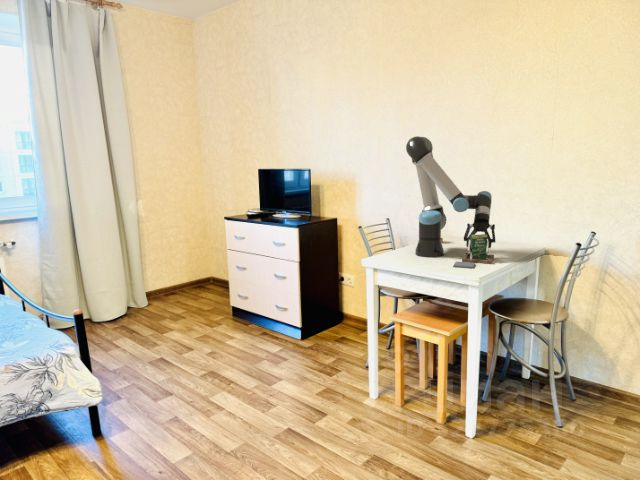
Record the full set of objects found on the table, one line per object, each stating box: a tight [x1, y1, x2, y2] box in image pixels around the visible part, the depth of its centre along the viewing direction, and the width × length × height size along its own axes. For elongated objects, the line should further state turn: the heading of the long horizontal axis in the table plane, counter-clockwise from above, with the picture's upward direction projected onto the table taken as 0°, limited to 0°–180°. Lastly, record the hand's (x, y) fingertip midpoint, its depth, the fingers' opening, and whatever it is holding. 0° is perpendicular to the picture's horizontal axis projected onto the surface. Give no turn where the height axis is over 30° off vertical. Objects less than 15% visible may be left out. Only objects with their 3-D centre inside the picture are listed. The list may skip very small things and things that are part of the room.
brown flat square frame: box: [461, 252, 495, 265], centre depth 226 cm, size 14×15×2 cm
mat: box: [452, 261, 476, 269], centre depth 215 cm, size 9×9×1 cm
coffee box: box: [469, 233, 488, 260], centre depth 225 cm, size 8×3×13 cm, turn 90°
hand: (477, 252), depth 222 cm, fingers closed on coffee box, 8 cm apart
